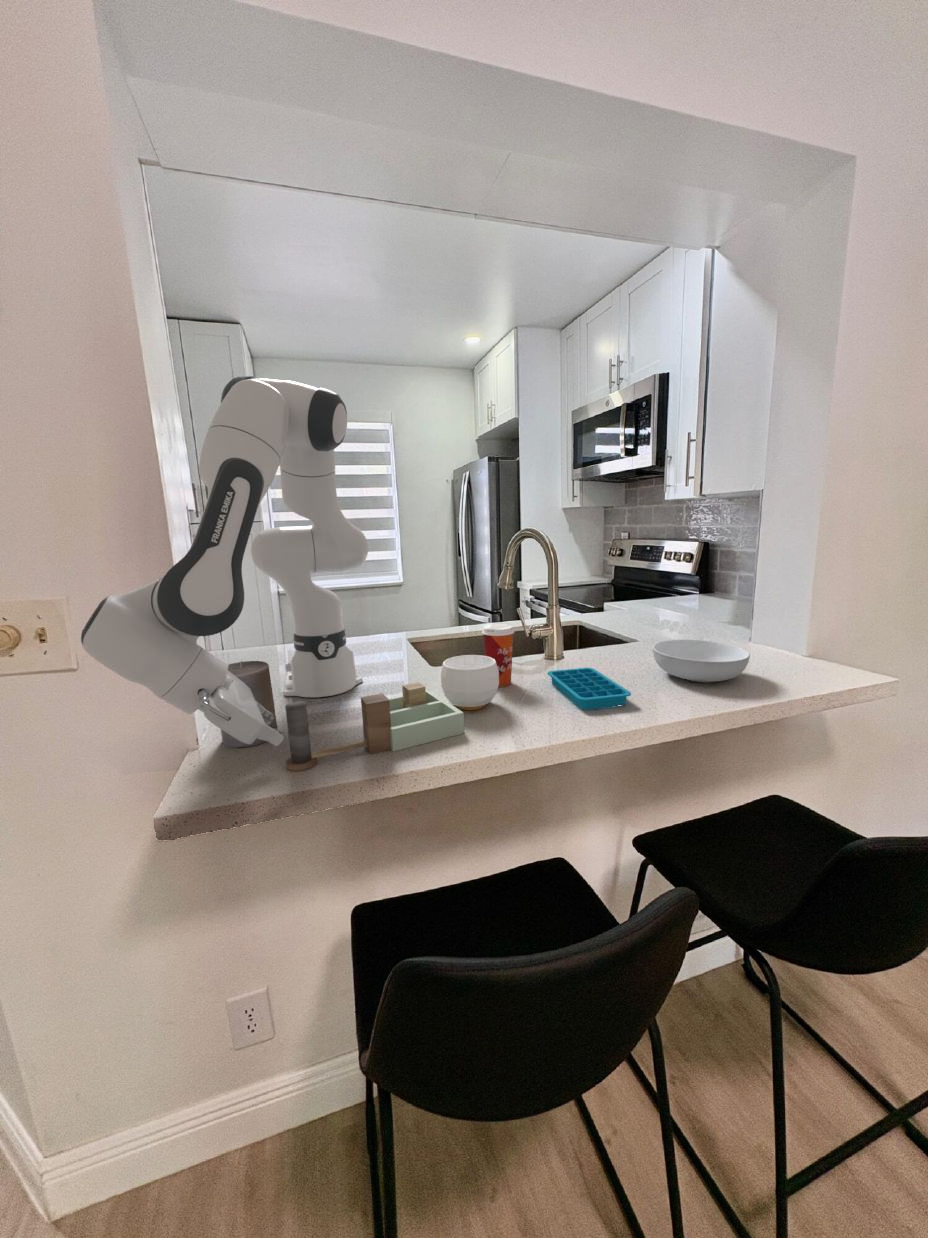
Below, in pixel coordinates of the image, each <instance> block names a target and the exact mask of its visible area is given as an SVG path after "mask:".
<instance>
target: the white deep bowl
mask: <svg viewBox="0 0 928 1238" xmlns="http://www.w3.org/2000/svg"><path fill="white" fill-rule="evenodd" d="M440 683H441V685H440V686H441V689H442V691H443V694H444V697H445V698H446V699H447V700H448V703H450V704H451V705H453V706H457V707H458V709H459V710H465V711H475V710H480V709H482V708H483V707H484V706H486V705H488V704H490V702H491V701H492V700H493V699H494V698H495V696H496V695H497V692H498V689H499V687H498V686H499V671H498V668H497V664H496V661H495V659H493V658H491V657H487V656H485V655H482V654H481V655H480V654H465V655H464V654H463V655H458V656H453V657H449V658H447V659H445V660H443V662H442V666H441V671H440Z"/></svg>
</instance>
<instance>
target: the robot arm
mask: <svg viewBox="0 0 928 1238" xmlns="http://www.w3.org/2000/svg"><path fill="white" fill-rule="evenodd" d="M220 399H221V400H220V404H219V406H218V408H217V410H216V412H215V414H214V416H213V417H212V420H211V422H210V425H209V426H208V428H207V429H208V430H207V431H206V435H205V438H204V440H203V443H202V447H201V451H200V458H199V464H198V474H199V477H200V479H201V481H202V482H203V484H204V485H205V486H206V488H207V500H206V502H205V506H204V510H203V512H202V515H201V518H200V521H199V524H198V527H197V529H196V533H195V535H194V539H193V541H192V544H191V546H190V548H189V549H188V551H187V552H186V554H185V556H183V557H182V558H181V559H179V561H177V562H176V563H175V564H174V565H173V566H172V567H171V568H170V569H169V570H168V571H167V572H166V573H165V575H163V576H162V577H161V578H159V579H156V580H154V581H152V582H150V583H148V584H145V585H143V586H141V587H138V588H135V589H133V590H130V591H127V592H123V593H120V594H115V595H108V596H107V597H104V598H103V599H102V600H101V601H100V602H99V604H98V605H97V607H96V608H95V609H94V611H93V612H92V613H91V615H90V618H88V621H87V622H86V624H85V625H84V627H83V629H82V631H81V635H80V642H81V644H82V648H83V650H84V651H85V652H86V653H87V654H88V655H89V656H90V657H92V658H93V659H94V660H96V661H97V662H98V663H100V664H101V665H102V666H104V667H105V668H107V669H109V670H111V671H112V672H114V673H115V674H117V675H119V676H120V677H122V678H124V679H126V680H127V681H130V682H132V683H136V684H139V685H142V686H144V687H146V688H147V689H149V691H150V692H152V693H153V695H154V696H156V697H157V698H158V699H160V700H162V701H164V702H165V703H168V704H169V705H171V706H173V707H174V708H176V709H178V710H179V711H181V712H183V713H185V714H187V715H191V714H194V713H195V712H196V711H200V712H202V713H203V715H204V717H205V718H206V719H207V721H209V722H210V723H211V724H212V725H214V726H216V727H217V728H219V729H220V731H221V730H223V731H225V732H226V733H228V734H229V735H231V736H232V737H234V738H236V739H237V740H239V741H241V742H243V743H245V744H252V743H253V742H254V741H255V740H256V738H258V739H260V740H264V741H267V742H268V743H270V744H271V745H274V746H275V747H277V746H279V745H280V744H281V743H282V742H283V741H284V738H285V736H284V734H283V733H282V732H281V731H279V729H277V730H276V729H275V728H274V729H273V728H271V727H269V726H267V725H269V724H270V723H271V722H272V721H273V720H274V716H273V714H272V713H271V712H269V711H267V710H266V709H265V708H264V707H263V706H261V705H260V704H259V703H258V702H257V701H255V698H254V696H253V694H252V691H251V689H250V688H249V687H248V686H247V685H246V684H245V683H244V682H242V681H241V680H240V679H239V678H237V677H236V676H235V675H233V674H232V673H231V672H230V671H228V664H229V663H227V662H225V661H224V660H222V659H221V658H219V657H217V656H216V655H214V654H213V653H211V652H210V651H208V650H207V649H205V648H204V647H202V646H201V645H199V644H198V643H197V640H198V639H199V638H200V637H207V636H209V637H210V636H214V635H216V634H220V633H222V632H225V631H226V630H227V629H229V628H230V627H231V626H232V625H234V624H235V623H236V621H238V618H240V615H241V614H242V612H243V608H244V603H245V587H244V580H243V572H242V570H243V569H242V567H243V560H244V555H245V551H246V548H247V545H248V541H249V539H250V536H251V531H252V528H253V525H254V521H255V517H256V513H257V511H258V508H259V506H260V504H261V503H262V501H263V499H264V498H265V496H266V495H267V493H268V491H269V489H270V487H271V485H272V483H273V482H274V479H275V477H276V474H277V472H278V469H279V470H280V483H281V495H282V500H283V502H284V504H285V505H286V507H287V508H288V509H289V510H290V511H292V512H293V514H295V515H298V516H300V517H302V518H306V519H307V520H309V521H311V522H312V524H310V525H295V526H293V525H291V526H289V525H288V526H278V527H277V526H276V527H273V528H268V529H264V530H260V531H258V532H257V533H256V534H255V536H254V538H253V540H252V543H251V545H250V546H251V547H250V554H251V558H252V561H253V563H254V565H255V566H256V567H257V568H258V570H260V572H262V573H263V574H265V575H266V576H268V577H269V578H271V579H272V580H274V581H275V582H276V583H277V584H278V585H279V586H280V588H282V590H283V591H284V593H285V594H286V595H285V596H286V597H287V599H288V601H289V604H290V608H291V612H292V619H293V625H294V626H293V627H294V634H293V638H292V639H293V648H294V652H293V654H292V656H291V659H290V661H289V662H285V672H287V673H289V674H286V676H285V683H284V689H283V690H284V691H283V696H285V697H302V698H323V697H330V696H336V695H340V694H343V693H346V692H348V691H350V690H352V689H353V688H354V687H355V686H356V685H358V684H360V683H362V682H363V677H362V676H360V675H358V674H356V673H357V672H356V665H355V658H354V651H353V650H352V649H351V648H349V647H348V646H347V634H346V629H345V628H344V623H343V611H342V602H341V599H340V597H339V596H338V595H337V594H336V593H335V592H334V591H332V590H329V589H328V588H325V587H323V586H320V585H317V584H316V583H314V582H313V580H312V577H311V576H312V575H314V574H323V573H326V574H327V573H340V572H346V571H350V570H354V569H357V568H360V567H362V566H363V564H364V563H365V562H366V559H367V557H368V554H369V544H368V540H367V538H366V536H365V534H364V532H362V530H361V529H360V528H359V527H357V526H355V525H354V524H352V522H350V521H349V520H348V519H347V518H346V516H345V515H344V514H343V512H342V510H341V507H340V505H339V502H338V495H337V484H336V483H337V481H336V455H335V449H337V447H339V446H340V445H341V444H342V443H343V441H344V439H345V436H346V434H347V433H346V432H347V428H348V412H347V407H346V404H345V403H344V400H342V398H341V396H340V395H339V394H337V393H336V392H333V391H332V390H329V389H327V388H324V387H319V388H317V387H315V386H311V385H308V384H304V383H302V382H297V381H293V380H288V379H287V380H281V379H271V378H261V377H258V378H257V377H255V376H251V375H243V376H236V377H233V378H232V379H230V381H228V382H227V384H226V385H225V386H224V387H223V390H222V393H221V398H220ZM290 672H291V673H290Z"/></svg>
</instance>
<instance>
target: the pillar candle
mask: <svg viewBox="0 0 928 1238" xmlns="http://www.w3.org/2000/svg"><path fill="white" fill-rule="evenodd" d="M227 664H228V671H230V672H231V673H232V674H233V675H235V676H236V677H237V678H239V679H240V680H241V681H242V682H244V683H245V684H246V685H247V686H248V687H249V688H250V689H251V691H252V694H253V696H254V698H255V701H257V702H258V703H259V704H260V705H261V706H263V707H264V708H265V709H266V710H267V711H269V712H271V713H272V714H273V716H274V720H273V721H272V722H271V723H270V724H269V725H267V726H269V727H271V728H273V729H274V728H275V729H276V730H278V723H277V716H276V709H275V700H274V693H273V686H272V680H271V679H272V678H271V673H270V666H269V665H270V664H268V663H267V662H266V661H262V660H260V661H259V660H250V661H249V660H245V661H242V660H241V661H239V662H234V663H227ZM220 734H221V740H222V744H223V746H225V747H228V748H233V749H237V748H243V747H244V748H248V747H255V746H257V745H261V744H264V743H267V742H268V741H264V740H260V739H258V738H256V740H255V741H254V742H253V743H252V744H245V743H243V742H241V741H239V740H237V739H236V738H234V737H232V736H231V735H229V734H228V733H226V732H225V731H223V730H221V729H220Z"/></svg>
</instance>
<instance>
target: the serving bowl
mask: <svg viewBox="0 0 928 1238" xmlns="http://www.w3.org/2000/svg"><path fill="white" fill-rule="evenodd" d="M652 654H653V657H654V660H655V662H656V664H657V665H658V666H659V667H660V668H661V669H662V670H663V671H664V672H666V673H667V674H670V675H672V676H673V677H676V678H680V679H683V680H685V679H687V680H686V681H689V680H691V681H690V682H695V681H697V683H712V682H722V681H727V680H731V679H734V678H736V677H738V676H740V674H742V673H743V672H744V671H745V670H746V668H747V666H748V664H749V662H750V657H751V654H750V653H749V652H748V651H747V650H746V649H744V648H742V647H740V646H736V645H732V644H729V643H724V642H720V641H711V640H703V639H669V640H663V641H660V642H656V643H654V644H653V646H652Z"/></svg>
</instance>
